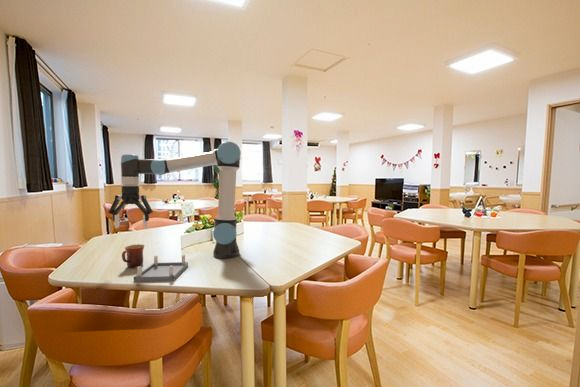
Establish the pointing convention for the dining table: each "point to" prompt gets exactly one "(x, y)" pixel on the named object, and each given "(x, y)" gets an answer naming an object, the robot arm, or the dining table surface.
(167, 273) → the tray
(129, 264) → the mug
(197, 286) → the dining table surface
